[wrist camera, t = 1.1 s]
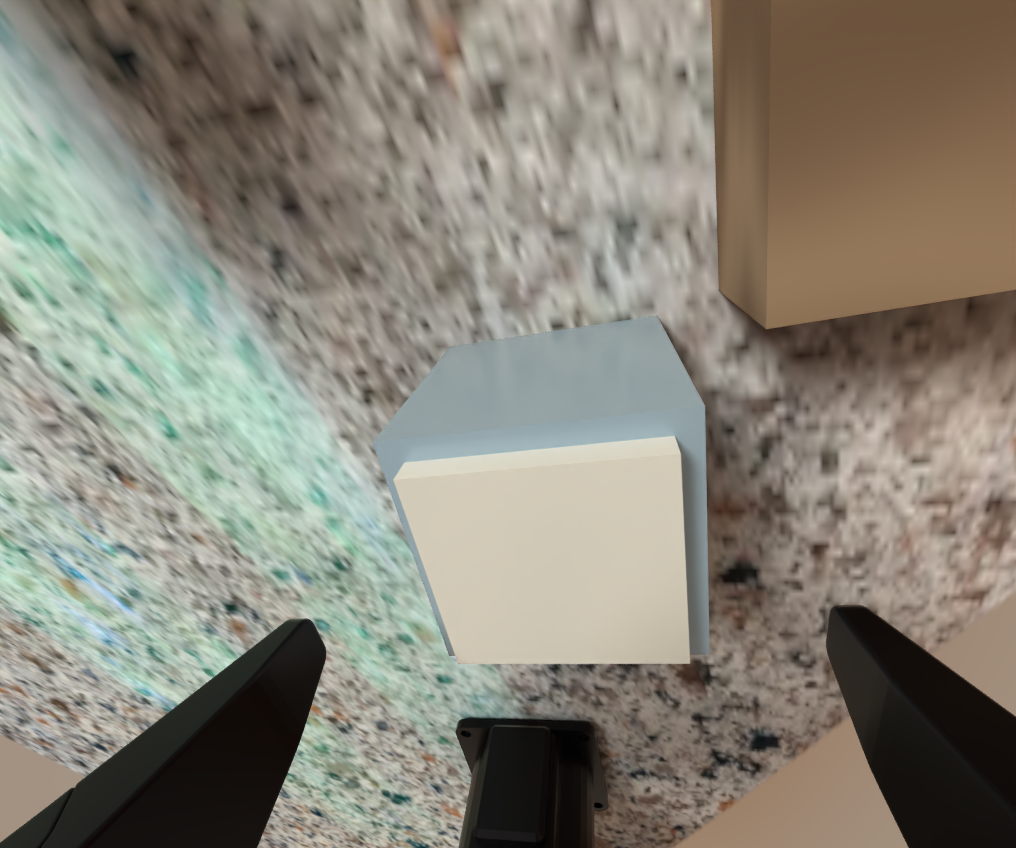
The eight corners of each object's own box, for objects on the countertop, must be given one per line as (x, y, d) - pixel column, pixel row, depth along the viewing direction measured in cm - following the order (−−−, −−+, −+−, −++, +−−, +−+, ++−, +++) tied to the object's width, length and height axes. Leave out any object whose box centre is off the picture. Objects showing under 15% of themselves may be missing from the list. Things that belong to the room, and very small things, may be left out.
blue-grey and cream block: (667, 494, 16) (716, 680, 10) (491, 507, 17) (442, 678, 11) (656, 315, 13) (713, 422, 7) (450, 346, 14) (359, 459, 9)
